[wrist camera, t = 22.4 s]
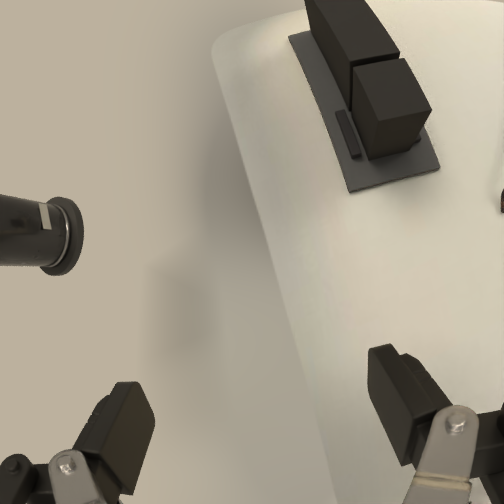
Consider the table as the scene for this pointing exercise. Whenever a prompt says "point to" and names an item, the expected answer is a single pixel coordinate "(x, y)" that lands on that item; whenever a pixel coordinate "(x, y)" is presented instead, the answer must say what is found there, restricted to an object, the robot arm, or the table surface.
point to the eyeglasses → (502, 202)
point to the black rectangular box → (387, 107)
